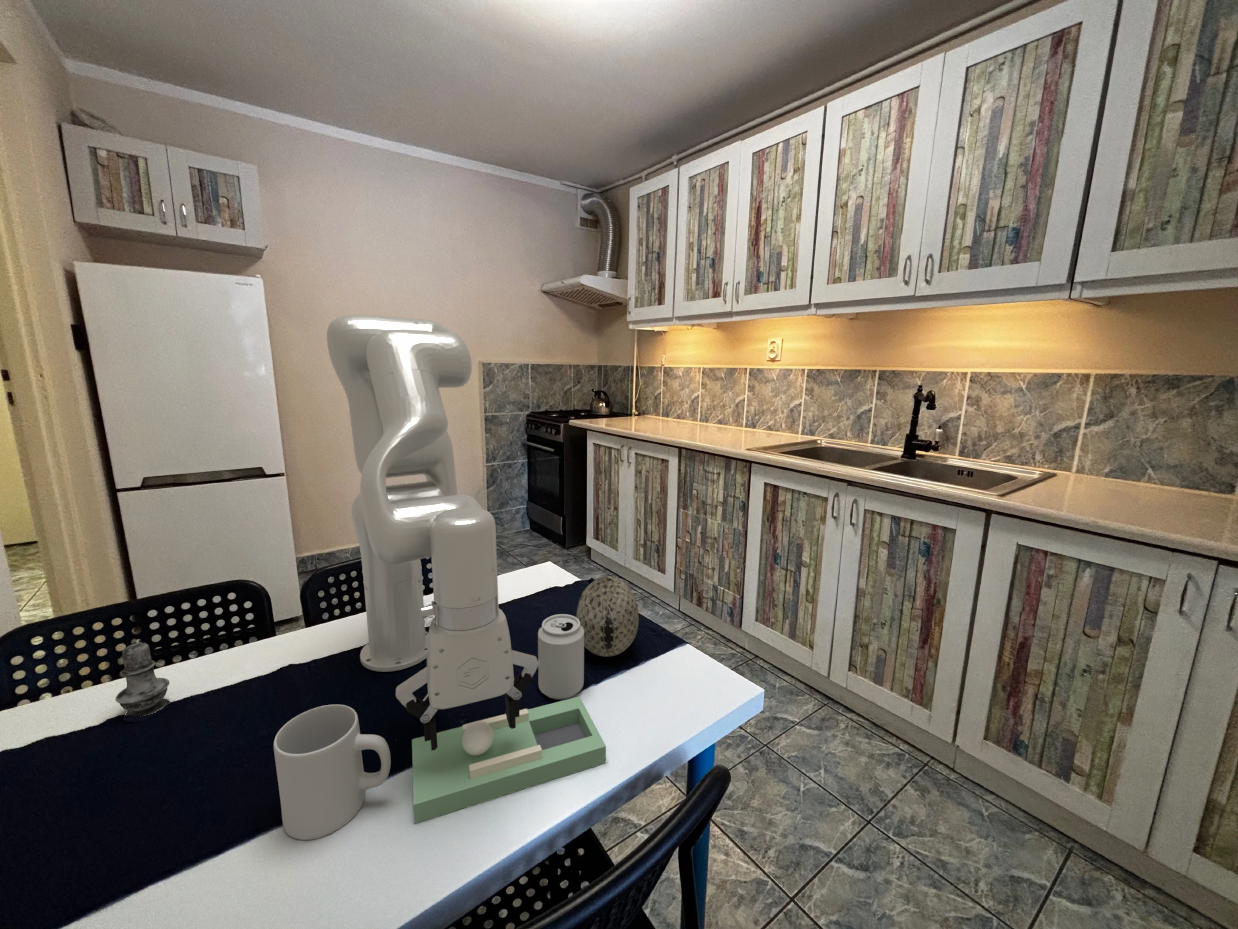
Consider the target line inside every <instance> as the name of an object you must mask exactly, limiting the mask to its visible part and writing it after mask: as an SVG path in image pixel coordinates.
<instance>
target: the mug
mask: <svg viewBox="0 0 1238 929" xmlns="http://www.w3.org/2000/svg"><path fill="white" fill-rule="evenodd" d="M364 750H373V751H375V752H376V753H377V754H378V757H379V760H380V769H379V771H376V772H367V771H365V770H364V763H363V754H362V751H364ZM273 753H274V761H275V767H276V768H275V769H276V776H277V782H278V784H277V785H278V791H279V799H280V800H279V801H280V809H281V810H280V811H281V819H282V826H283V829H284V831H285V833H286V834H287V835H288V836H290V837H291V838H293V839H296V840H299V841H309V840H310V841H311V840H316V839H321V838H323V837H326V836H328V835H330V834H332V833H335V832H336V831H338V830H340V829H342V827H344V826H345V825H347V824H348V823H349V822H350V821H351V820H352V819H353V818H355V817H356V815H357V814H358V813H359V811H360V809H361V808H362V806H363V804H364V801H365V799H366V798H365V797H366V789H367V790H368V789H372V788H377V787H380V785H383V784H384V783H385V781H387V779H388V777H389V774H390V770H391V764H392V761H391V759H392V758H391V751H390V748H389V744H388V743H387V741H386V739H385V738H384V737H382V736H381V735H378V734H370V733H369V734H366V733H365V734H363V733H361V730H360V723H359V717H358V713H357V712H356V710H355V709H354V708H352V707H350V706H348V705H345V704H328V705H321V706H317V707H314V708H311V709H308V710H307V711H304V712H302V713H300V714H298V715H296V716H295V717H293V718H291V719H290V720H288V721H287V722H286V723H285V724H284V725H283V726H282V727H281V728H280V729H279V730H278V731H277V733H276V735H275V738H274V741H273Z"/></svg>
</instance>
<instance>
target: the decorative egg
mask: <svg viewBox="0 0 1238 929" xmlns="http://www.w3.org/2000/svg"><path fill="white" fill-rule="evenodd" d="M639 616H640V615H639V608H638V603H637V601H636V598H635V595H634V593H633V591H632V590H631V589H630V587H629V586H628V585H627V584H626V582H624V581H623V580H622V579H620V578H618V577H615V576H611V575H609V576H608V575H606V576H601V577H599V578H596V579H595V580H593V581H592V582H591V583H589V584H588V585H587V587H585V589H584V590H583V591H582V594H581V595H580V597H579V600H578V603H577V606H576V611H575V617H576V618H577V619H579V621H580V625H581V626H582V627H583V629H584V648H585V649H587V650H588V651H589V652H591V653H592V654H593V655H596V656H599V657H602V658H603V657H605V658H606V657H608V658H609V657H615V656H617V655H619V654H622V653H623V652H624V651H626V650H627V649H629V647H630V646H631V645H632V643H633V642H634V639H635V638H636V635H637V632H638V628H639V619H640V617H639Z"/></svg>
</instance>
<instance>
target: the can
mask: <svg viewBox="0 0 1238 929" xmlns="http://www.w3.org/2000/svg"><path fill="white" fill-rule="evenodd" d="M537 656H538V658H537V660H538V662H539V665H538V667H537V670H538V678H537V679H538V688H539V689H538V690H540V692H541V693H542V694H544V695H545V696H546V697H548V698H549V699H553V700H560V701H564V700H568V699H571V698H572V697H574V696H575V695H576V694H577V693H579V692H580V691H581V690H582V689H583V687H584V681H585V676H584V675H585V646H584V629H583V627H582V626H581V625H580V621H579V619H577V618H576V616H574V615H572V614H567V613H566V614H565V613H564V614H563V613H561V614H560V613H559V614H558V613H557V614H554V615H553V614H552V615H551V616H548V617H547V618H545V619H543V621H542V623H541V627H540V628H539V629H538V632H537Z"/></svg>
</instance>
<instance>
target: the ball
mask: <svg viewBox="0 0 1238 929" xmlns="http://www.w3.org/2000/svg"><path fill="white" fill-rule="evenodd" d="M470 723H471V724H470V725H469V726H467V728H466V729H465V731H464V733H463V735H462V746H463V748H464V750H465V751H466V752H467V753H468V754H470V755H473V756H478V755H481V754H483V753H485V752H486V751H487V750H488V749H489V748H490V746H491V744H492V742H493V730H492V728H491V726H490V725H489V724H488V723H486V722H484V721H480V720H476V721H473V723H472V722H470Z"/></svg>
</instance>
